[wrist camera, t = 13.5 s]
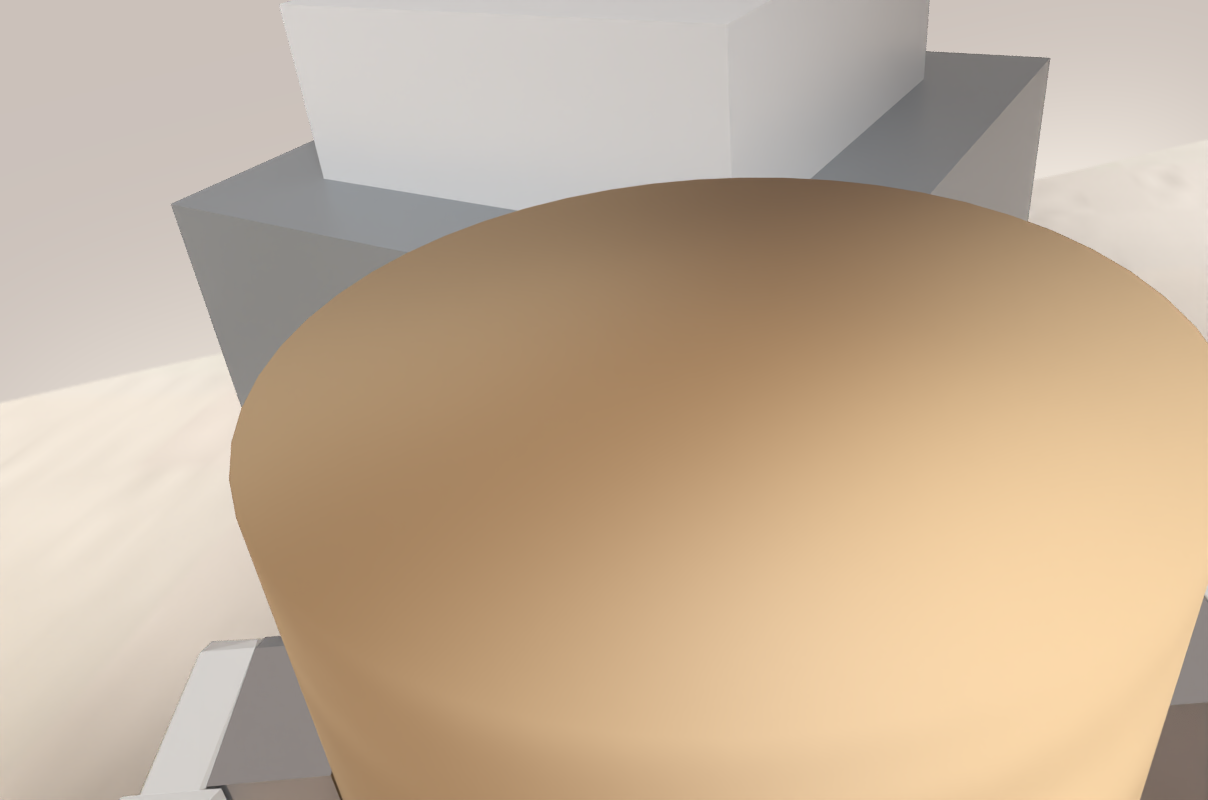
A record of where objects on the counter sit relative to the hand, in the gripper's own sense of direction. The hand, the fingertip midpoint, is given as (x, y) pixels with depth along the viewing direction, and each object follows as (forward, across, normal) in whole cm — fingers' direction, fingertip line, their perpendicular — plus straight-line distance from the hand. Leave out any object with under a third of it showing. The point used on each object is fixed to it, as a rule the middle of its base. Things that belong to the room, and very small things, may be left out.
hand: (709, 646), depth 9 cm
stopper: (-1, 0, +8) cm, 8 cm away
